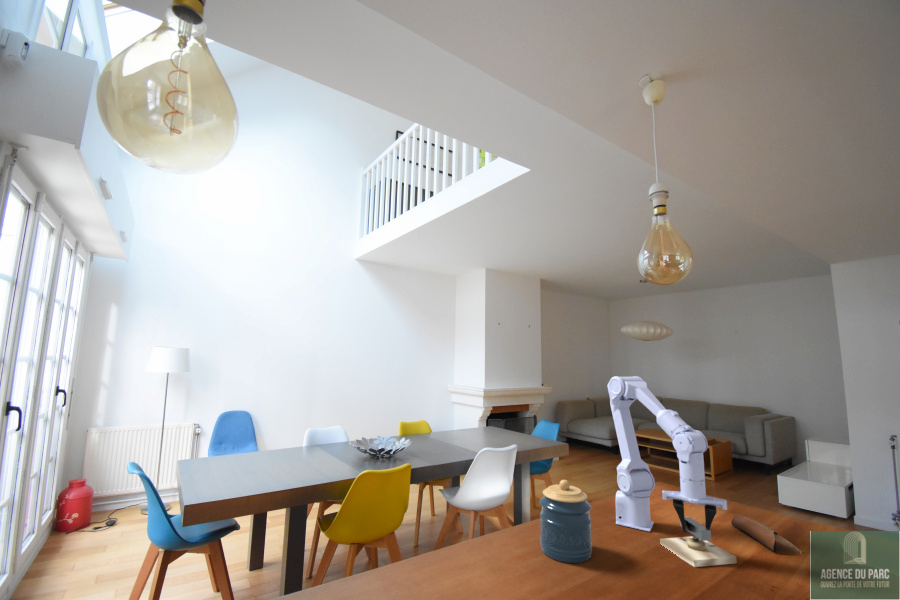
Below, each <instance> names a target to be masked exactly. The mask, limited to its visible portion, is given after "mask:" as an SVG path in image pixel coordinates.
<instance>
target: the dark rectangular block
mask: <svg viewBox="0 0 900 600" xmlns="http://www.w3.org/2000/svg"><path fill="white" fill-rule="evenodd" d="M684 517H685V524H686V532H689V533H690V534H692V536H693V540H694V541H699V539H700V540H702V541H709V542H712V530H711V529H710V530H709V529H708V528H706V527H705V525H703V524H701V523H700V522H698V521H697V520H695V519H693V518H692V517H691V516H689V515H688V516H687V515H684ZM679 526H680V527H681V528H682V525H681V521H680V520H679Z"/></svg>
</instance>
